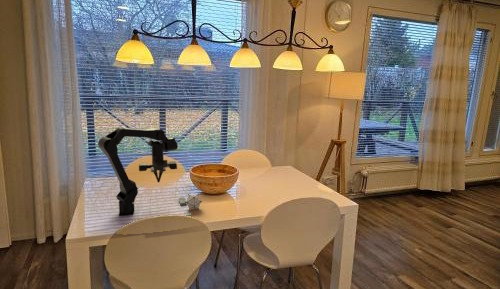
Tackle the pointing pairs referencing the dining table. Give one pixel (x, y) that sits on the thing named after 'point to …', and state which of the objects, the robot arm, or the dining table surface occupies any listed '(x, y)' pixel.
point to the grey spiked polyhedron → (193, 201)
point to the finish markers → (182, 202)
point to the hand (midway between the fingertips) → (158, 182)
